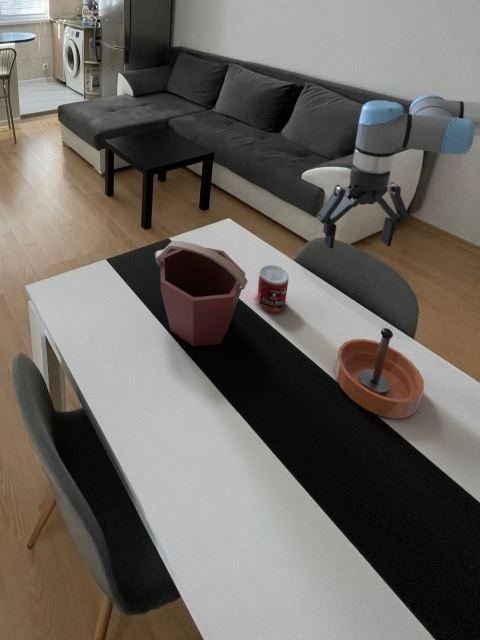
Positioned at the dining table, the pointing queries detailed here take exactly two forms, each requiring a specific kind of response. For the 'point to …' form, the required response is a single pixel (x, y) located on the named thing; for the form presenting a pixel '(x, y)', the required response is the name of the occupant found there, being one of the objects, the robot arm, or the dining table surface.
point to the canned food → (272, 288)
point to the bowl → (396, 369)
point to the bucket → (199, 291)
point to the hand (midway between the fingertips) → (357, 244)
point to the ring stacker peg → (378, 368)
